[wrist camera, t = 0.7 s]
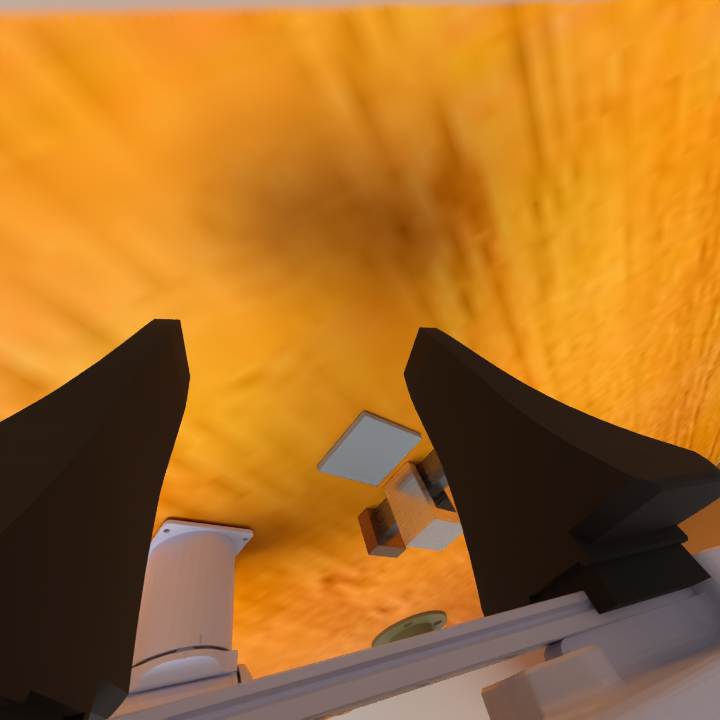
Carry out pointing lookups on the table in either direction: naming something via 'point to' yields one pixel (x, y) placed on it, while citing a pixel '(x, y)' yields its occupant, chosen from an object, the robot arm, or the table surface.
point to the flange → (411, 627)
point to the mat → (369, 450)
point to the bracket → (422, 511)
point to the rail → (381, 521)
